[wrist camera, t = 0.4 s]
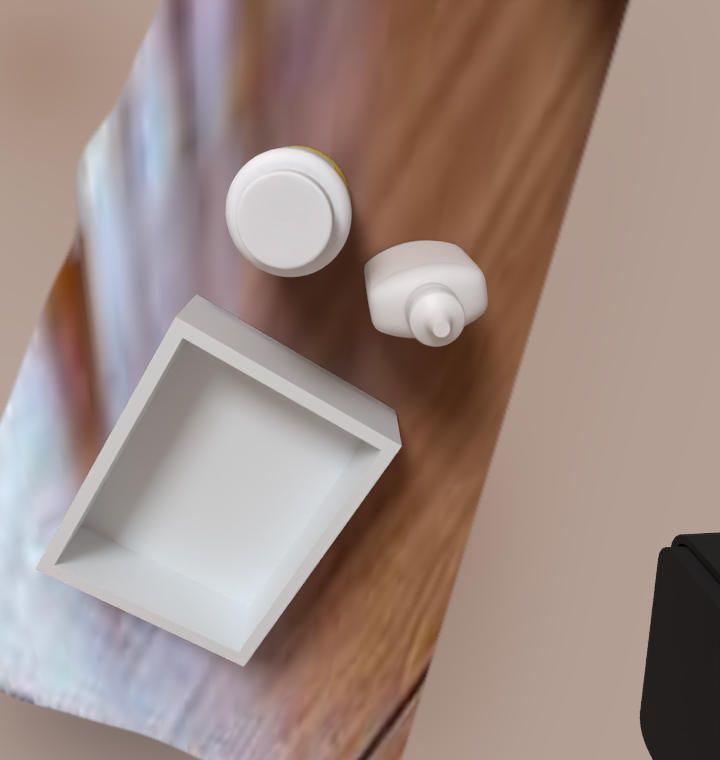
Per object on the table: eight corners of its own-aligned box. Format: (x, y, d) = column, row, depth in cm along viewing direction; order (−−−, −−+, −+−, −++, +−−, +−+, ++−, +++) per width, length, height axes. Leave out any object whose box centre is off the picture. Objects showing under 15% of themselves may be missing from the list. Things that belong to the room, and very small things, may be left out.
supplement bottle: (325, 266, 38) (318, 311, 29) (233, 223, 38) (194, 255, 28) (367, 172, 37) (375, 187, 27) (272, 126, 36) (245, 124, 26)
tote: (196, 294, 39) (175, 316, 34) (395, 410, 42) (401, 445, 37) (69, 522, 44) (35, 569, 39) (254, 612, 46) (243, 666, 42)
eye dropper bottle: (380, 217, 38) (394, 255, 26) (474, 250, 38) (527, 300, 27) (354, 291, 39) (358, 357, 28) (446, 321, 40) (485, 397, 28)
